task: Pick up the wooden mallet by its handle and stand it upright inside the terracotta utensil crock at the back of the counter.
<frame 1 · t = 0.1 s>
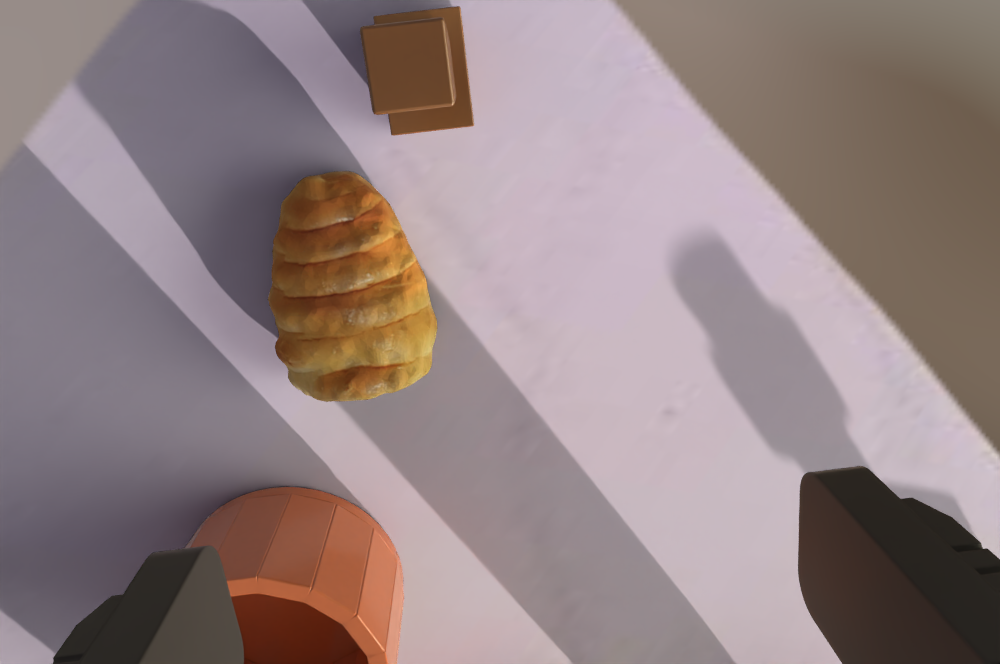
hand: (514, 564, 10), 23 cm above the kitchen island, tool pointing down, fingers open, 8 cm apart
wooden mallet: (429, 73, 30), on the kitchen island
crock: (294, 581, 37), on the kitchen island
pastry: (351, 293, 33), on the kitchen island
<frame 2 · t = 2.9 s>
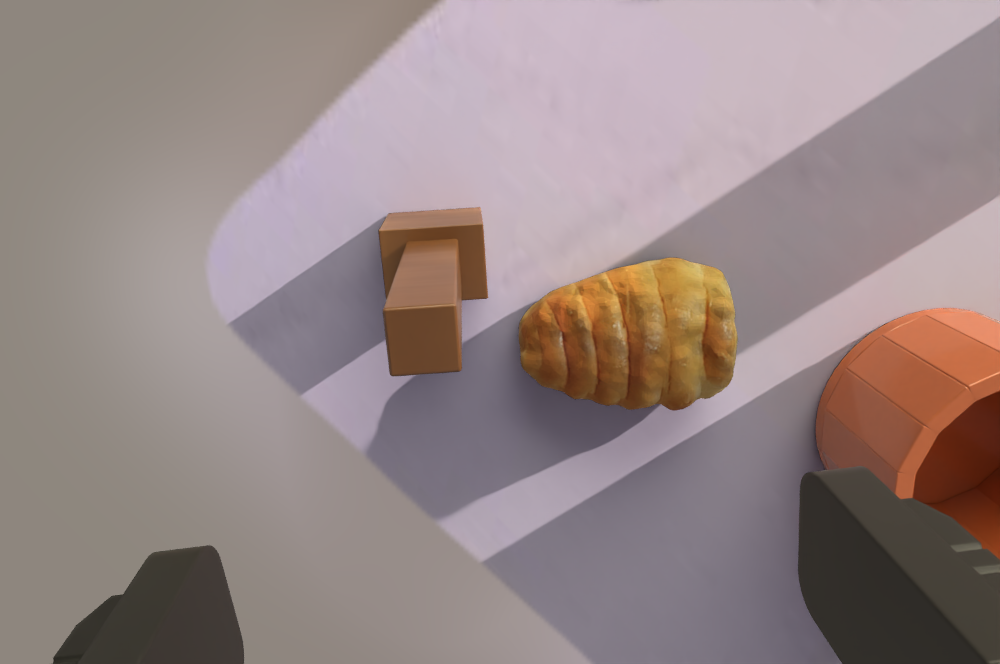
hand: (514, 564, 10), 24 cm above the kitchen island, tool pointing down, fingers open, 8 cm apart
wooden mallet: (437, 244, 33), on the kitchen island
crock: (923, 413, 36), on the kitchen island
pastry: (632, 329, 35), on the kitchen island
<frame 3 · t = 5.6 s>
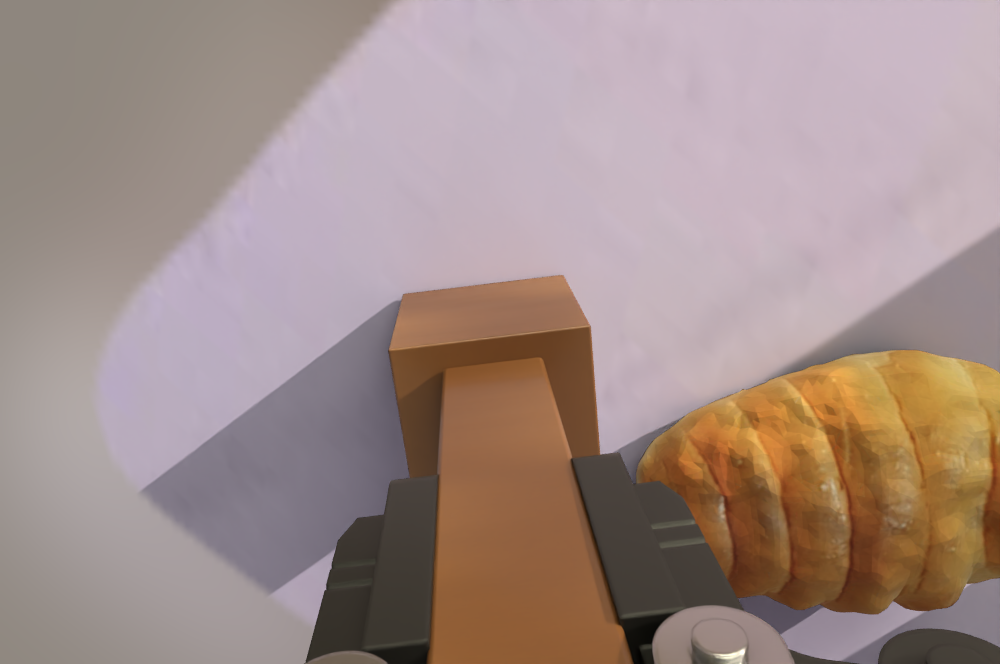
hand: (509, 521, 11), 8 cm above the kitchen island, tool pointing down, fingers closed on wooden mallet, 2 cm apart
wooden mallet: (490, 340, 19), on the kitchen island, touching gripper
pastry: (820, 462, 21), on the kitchen island
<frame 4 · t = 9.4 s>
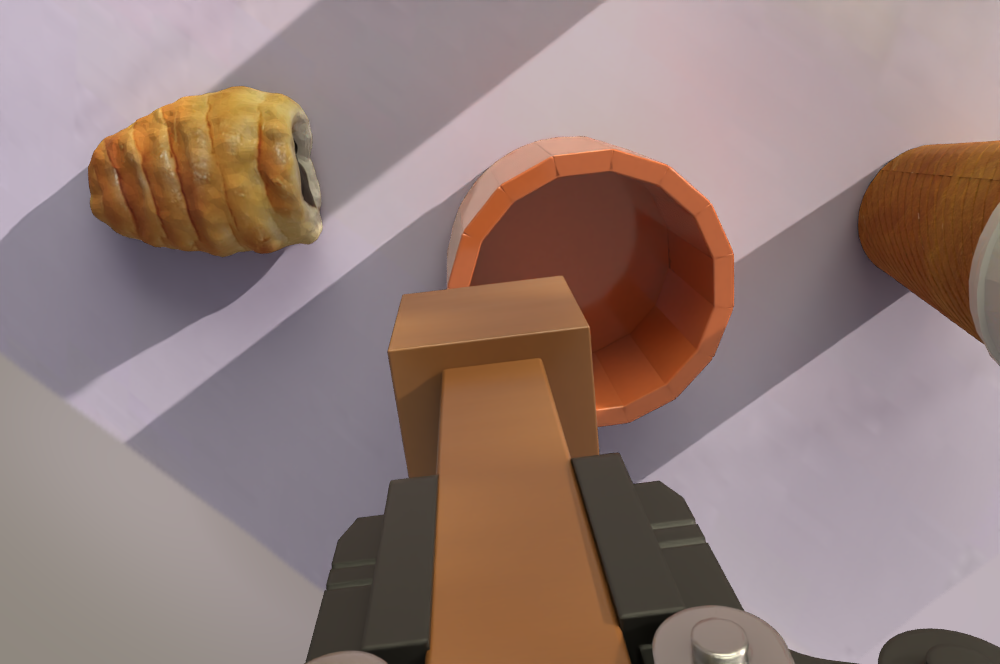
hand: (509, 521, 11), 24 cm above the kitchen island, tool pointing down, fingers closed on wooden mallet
disposable coffee cup: (919, 212, 35), on the kitchen island
wooden mallet: (489, 341, 19), point 16 cm above the kitchen island, touching gripper
crock: (565, 256, 35), on the kitchen island
pastry: (231, 176, 33), on the kitchen island
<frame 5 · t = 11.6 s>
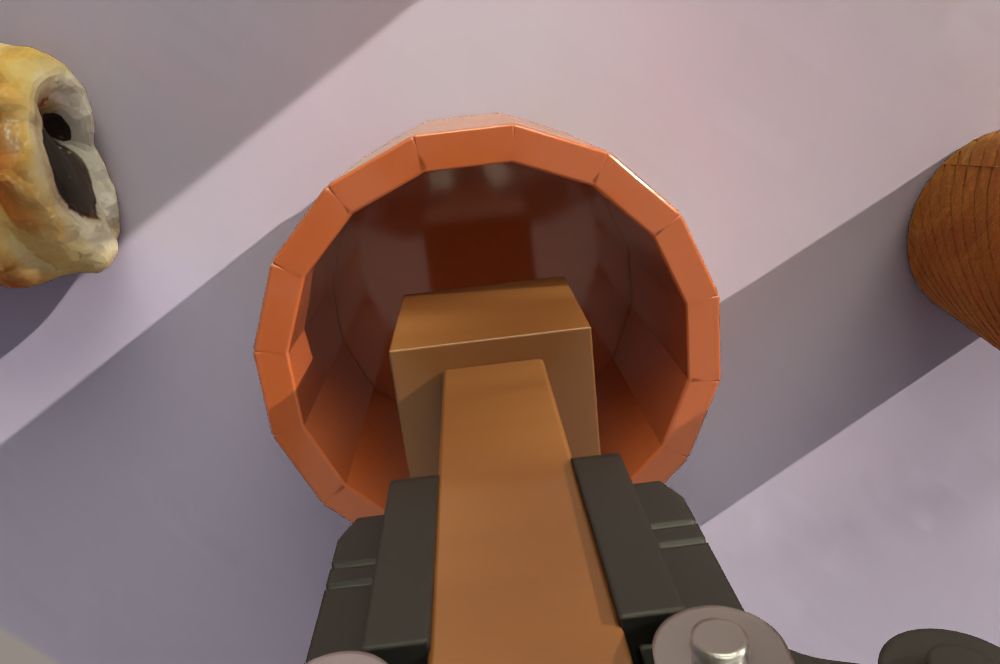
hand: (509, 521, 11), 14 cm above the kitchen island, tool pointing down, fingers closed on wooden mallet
disposable coffee cup: (996, 225, 24), on the kitchen island
wooden mallet: (490, 342, 19), point 5 cm above the kitchen island, touching gripper
crock: (483, 288, 24), on the kitchen island
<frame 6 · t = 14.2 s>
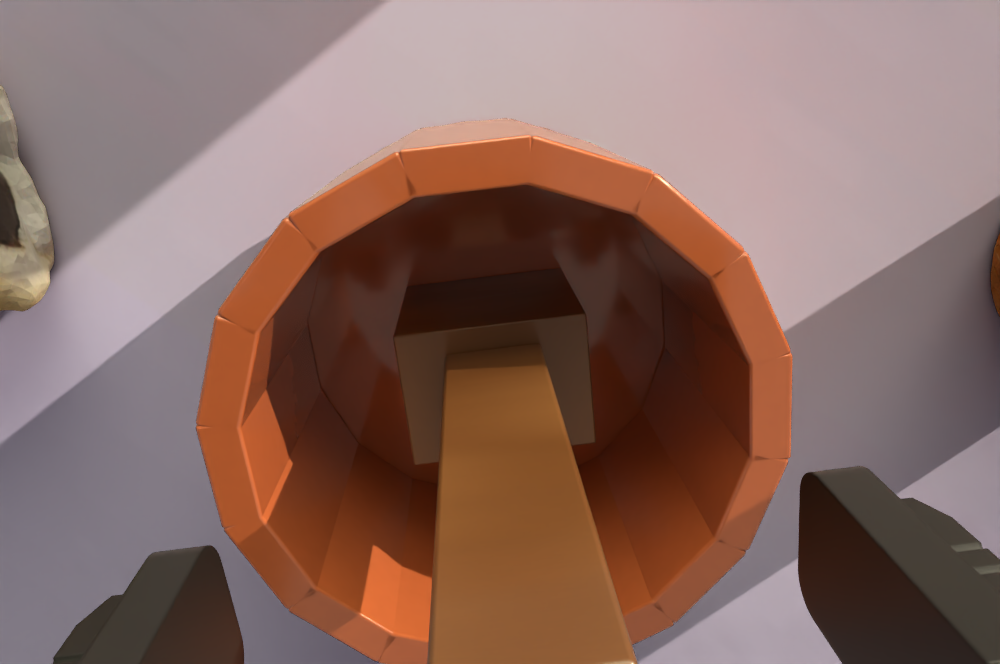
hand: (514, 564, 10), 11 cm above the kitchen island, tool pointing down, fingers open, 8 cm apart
wooden mallet: (490, 331, 19), point 1 cm above the kitchen island, touching crock
crock: (488, 325, 20), on the kitchen island
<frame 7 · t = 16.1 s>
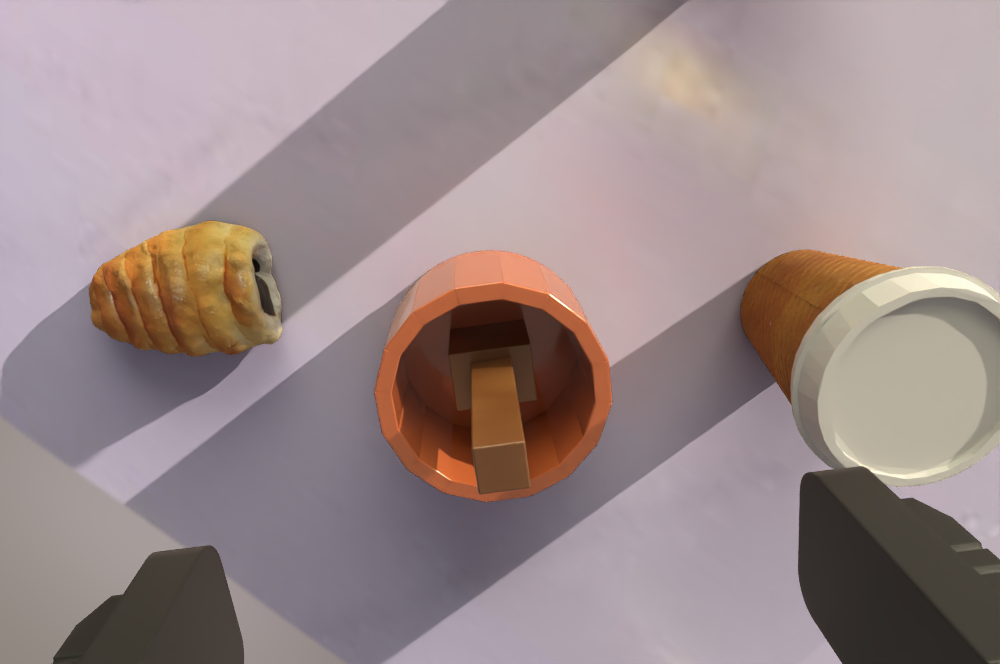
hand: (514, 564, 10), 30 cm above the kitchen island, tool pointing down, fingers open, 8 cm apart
disposable coffee cup: (795, 304, 41), on the kitchen island
wooden mallet: (490, 350, 40), point 1 cm above the kitchen island, touching crock
crock: (489, 346, 41), on the kitchen island
pastry: (207, 287, 39), on the kitchen island
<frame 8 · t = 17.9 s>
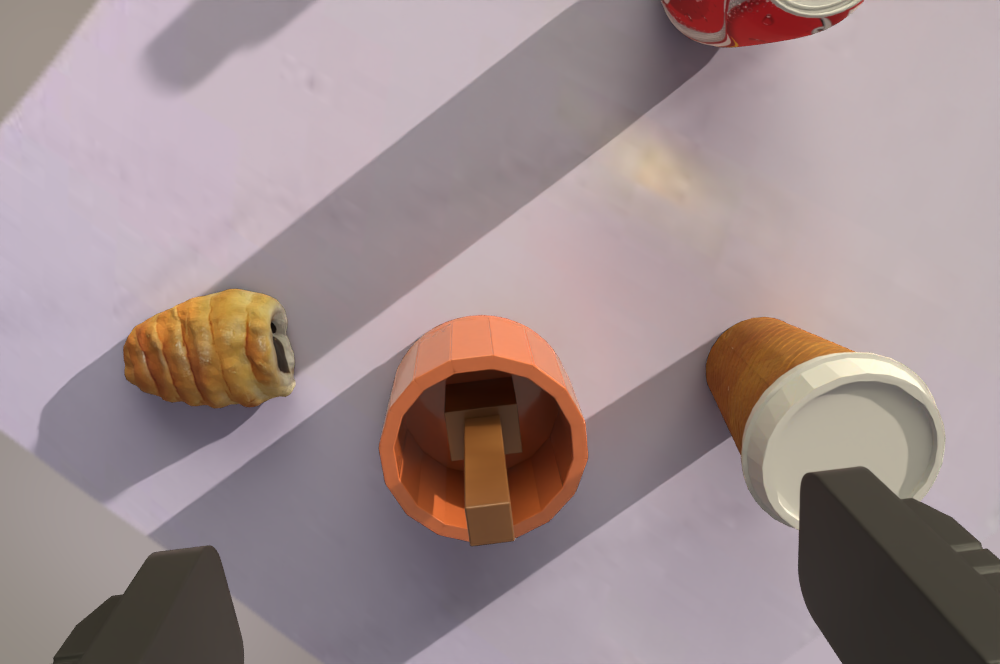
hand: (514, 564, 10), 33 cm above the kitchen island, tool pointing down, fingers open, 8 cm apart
disposable coffee cup: (754, 364, 46), on the kitchen island
wooden mallet: (481, 403, 45), point 1 cm above the kitchen island, touching crock
crock: (480, 399, 45), on the kitchen island
pastry: (228, 345, 44), on the kitchen island
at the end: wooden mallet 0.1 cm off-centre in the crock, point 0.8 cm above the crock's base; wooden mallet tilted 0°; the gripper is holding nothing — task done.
